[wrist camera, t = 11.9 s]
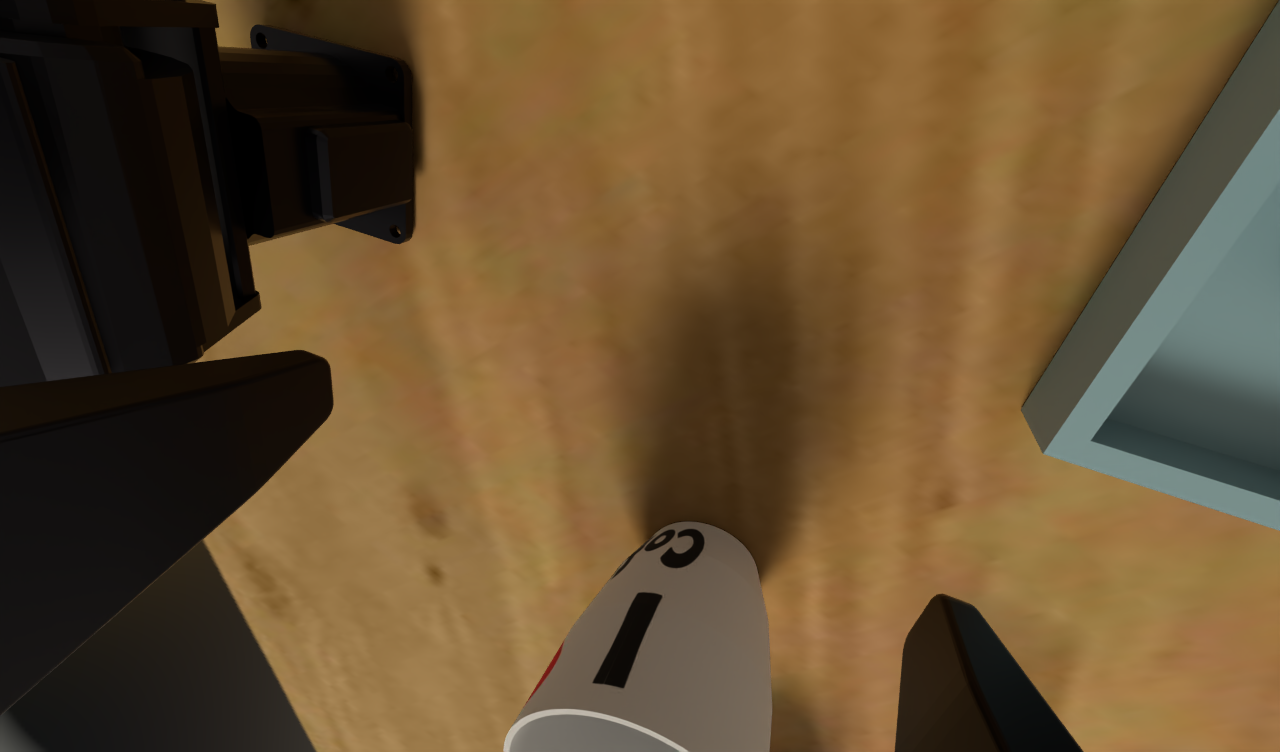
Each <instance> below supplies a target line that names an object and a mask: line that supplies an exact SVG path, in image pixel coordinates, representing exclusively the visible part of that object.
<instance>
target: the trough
mask: <svg viewBox="0 0 1280 752" xmlns="http://www.w3.org/2000/svg"><path fill="white" fill-rule="evenodd" d="M1021 411H1022V413H1023V415H1024V417H1025V419H1026V421H1027V423H1028V425H1029V427H1030V429H1031V431H1032V433H1033V435H1034V437H1035V439H1036V441H1037V443H1038V445H1039V447H1040V449H1041V451H1042V453H1043V454H1045V455H1048V456H1051V457H1054V458H1057V459H1061V460H1064V461H1067V462H1070V463H1073V464H1076V465H1079V466H1082V467H1085V468H1088V469H1091V470H1094V471H1098V472H1101V473H1104V474H1107V475H1110V476H1113V477H1116V478H1119V479H1122V480H1125V481H1128V482H1131V483H1135V484H1138V485H1141V486H1144V487H1147V488H1150V489H1153V490H1156V491H1159V492H1162V493H1165V494H1168V495H1171V496H1175V497H1178V498H1181V499H1184V500H1187V501H1190V502H1193V503H1196V504H1199V505H1202V506H1205V507H1208V508H1212V509H1215V510H1218V511H1221V512H1224V513H1227V514H1230V515H1233V516H1236V517H1239V518H1242V519H1245V520H1249V521H1252V522H1255V523H1258V524H1261V525H1264V526H1267V527H1270V528H1273V529H1276V530H1279V531H1280V0H1279V1H1278V3H1277V5H1276V6H1275V8H1274V9H1273V11H1272V13H1271V14H1270V16H1269V17H1268V19H1267V20H1266V22H1265V24H1264V25H1263V27H1262V28H1261V30H1260V32H1259V33H1258V35H1257V36H1256V38H1255V39H1254V41H1253V43H1252V44H1251V46H1250V47H1249V49H1248V51H1247V52H1246V54H1245V55H1244V57H1243V58H1242V60H1241V62H1240V63H1239V65H1238V66H1237V68H1236V70H1235V71H1234V73H1233V74H1232V76H1231V77H1230V79H1229V81H1228V82H1227V84H1226V85H1225V87H1224V89H1223V90H1222V92H1221V93H1220V95H1219V97H1218V98H1217V100H1216V101H1215V103H1214V104H1213V106H1212V108H1211V109H1210V111H1209V112H1208V114H1207V116H1206V117H1205V119H1204V120H1203V122H1202V123H1201V125H1200V127H1199V128H1198V130H1197V131H1196V133H1195V135H1194V136H1193V138H1192V139H1191V141H1190V142H1189V144H1188V146H1187V147H1186V149H1185V150H1184V152H1183V154H1182V155H1181V157H1180V158H1179V160H1178V161H1177V163H1176V165H1175V166H1174V168H1173V169H1172V171H1171V173H1170V174H1169V176H1168V177H1167V179H1166V180H1165V182H1164V184H1163V185H1162V187H1161V188H1160V190H1159V192H1158V193H1157V195H1156V196H1155V198H1154V199H1153V201H1152V203H1151V204H1150V206H1149V207H1148V209H1147V211H1146V212H1145V214H1144V215H1143V217H1142V218H1141V220H1140V222H1139V223H1138V225H1137V226H1136V228H1135V230H1134V231H1133V233H1132V234H1131V236H1130V238H1129V239H1128V241H1127V242H1126V244H1125V245H1124V247H1123V249H1122V250H1121V252H1120V253H1119V255H1118V257H1117V258H1116V260H1115V261H1114V263H1113V264H1112V266H1111V268H1110V269H1109V271H1108V272H1107V274H1106V276H1105V277H1104V279H1103V280H1102V282H1101V283H1100V285H1099V287H1098V288H1097V290H1096V291H1095V293H1094V295H1093V296H1092V298H1091V299H1090V301H1089V302H1088V304H1087V306H1086V307H1085V309H1084V310H1083V312H1082V314H1081V315H1080V317H1079V318H1078V320H1077V321H1076V323H1075V325H1074V326H1073V328H1072V329H1071V331H1070V333H1069V334H1068V336H1067V337H1066V339H1065V340H1064V342H1063V344H1062V345H1061V347H1060V348H1059V350H1058V352H1057V353H1056V355H1055V356H1054V358H1053V359H1052V361H1051V363H1050V364H1049V366H1048V367H1047V369H1046V371H1045V372H1044V374H1043V375H1042V377H1041V378H1040V380H1039V382H1038V383H1037V385H1036V386H1035V388H1034V390H1033V391H1032V393H1031V394H1030V396H1029V398H1028V399H1027V401H1026V402H1025V404H1024V405H1023V407H1022V409H1021Z"/></svg>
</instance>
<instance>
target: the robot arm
mask: <svg viewBox="0 0 1280 752" xmlns="http://www.w3.org/2000/svg"><path fill="white" fill-rule="evenodd" d="M215 28H219V23H218V16H217V10H216V4H214V3H210V2H206V1H202V0H0V716H1V715H2V714H3V713H4V712H5V711H6V710H7V709H9V708H10V707H11V706H12V705H13V704H14V703H15V702H17V701H18V700H19V699H20V698H21V697H22V696H24V695H25V694H26V693H27V692H28V691H29V690H30V689H31V688H33V687H34V686H35V685H36V684H37V683H38V682H40V681H41V680H42V679H43V678H44V677H45V676H46V675H47V674H49V673H50V672H51V671H52V670H53V669H55V668H56V667H57V666H58V665H59V664H60V663H61V662H62V661H64V660H65V659H66V658H67V657H68V656H69V655H71V654H72V653H73V652H74V651H75V650H76V649H77V648H78V647H80V646H81V645H82V644H83V643H84V642H85V641H87V640H88V639H89V638H90V637H91V636H92V635H94V633H96V632H97V631H98V630H99V629H100V628H102V627H103V626H104V625H105V624H106V623H107V622H109V621H110V620H111V619H112V618H113V617H114V616H115V615H117V614H118V613H119V612H120V611H121V610H122V609H123V608H124V607H126V606H127V605H128V604H129V603H130V602H132V601H133V599H135V598H136V597H137V596H138V595H139V594H141V593H142V592H143V591H144V590H145V589H146V588H147V587H149V586H150V585H151V584H152V583H153V582H154V581H156V580H157V579H158V578H159V577H160V576H161V575H162V574H163V573H165V572H166V571H167V570H168V569H169V568H171V567H172V566H173V565H174V564H175V563H176V562H177V561H179V560H180V559H181V558H182V557H183V556H184V555H185V554H187V553H188V552H189V551H190V550H191V549H192V548H194V547H195V546H196V545H197V544H198V543H199V542H200V541H202V540H203V539H204V538H205V537H206V536H207V535H208V534H210V533H211V532H212V531H213V530H214V529H215V528H217V527H218V526H219V525H220V524H221V523H222V522H223V521H225V520H226V519H227V518H228V517H229V516H230V515H231V514H233V513H234V512H235V511H236V510H237V509H238V508H239V507H241V506H242V505H243V504H244V503H245V502H246V501H247V500H248V499H250V498H251V497H252V496H253V495H254V494H255V493H256V492H257V491H258V490H259V489H260V488H261V487H262V486H263V485H264V484H265V483H266V482H267V481H268V480H269V479H270V478H271V477H272V476H273V475H274V474H275V473H276V472H277V471H278V470H279V469H280V468H281V467H282V466H283V465H284V464H285V463H286V462H287V461H288V459H289V458H290V457H291V456H292V455H293V454H294V453H295V452H296V451H297V450H298V449H299V448H300V447H301V446H302V445H303V444H304V443H305V442H306V441H307V440H308V439H309V438H310V436H311V435H312V434H313V433H314V432H315V431H316V430H317V429H318V428H319V427H320V426H321V425H322V424H323V423H324V422H325V421H326V420H327V418H328V417H329V415H330V414H331V412H332V409H333V390H332V379H331V369H330V365H329V363H328V361H327V360H326V359H325V358H323V357H321V356H318V355H315V354H313V353H310V352H307V351H304V350H294V351H286V352H278V353H270V354H262V355H254V356H246V357H238V358H230V359H222V360H214V361H206V362H198V363H195V362H196V361H197V360H198V359H200V358H201V357H202V356H203V354H204V352H205V351H206V350H207V349H209V348H210V347H211V346H213V345H214V344H215V343H217V342H218V341H219V340H221V339H222V338H223V337H225V336H226V335H227V334H229V333H230V332H231V331H232V330H234V329H235V328H236V327H238V326H239V325H240V324H242V323H243V322H244V321H246V320H247V319H248V318H250V317H251V316H252V315H254V314H255V313H256V312H258V311H259V310H260V309H261V302H260V295H259V292H258V291H256V290H255V285H254V278H253V272H252V265H251V259H250V252H249V246H250V245H254V244H258V243H261V242H265V241H269V240H273V239H277V238H280V237H284V236H288V235H292V234H296V233H299V232H303V231H307V230H311V229H315V228H318V227H322V226H326V225H330V224H336V225H339V226H343V227H346V228H349V229H352V230H355V231H358V232H361V233H364V234H367V235H370V236H373V237H376V238H379V239H383V240H386V241H389V242H392V243H395V244H401V243H404V242H407V241H409V240H410V239H411V238H412V234H413V148H412V76H411V71H410V69H409V66H408V65H407V64H406V63H405V61H403V60H401V59H399V58H396V57H392V56H388V55H384V54H380V53H376V52H372V51H368V50H364V49H360V48H356V47H352V46H348V45H344V44H340V43H336V42H332V41H328V40H324V39H321V38H317V37H313V36H309V35H305V34H301V33H297V32H293V31H289V30H285V29H281V28H277V27H273V26H269V25H255V26H253V27H252V29H251V32H250V38H251V46H252V48H235V47H218V45H217V38H216V32H215ZM265 39H267V43H266V40H265ZM394 68H395V69H396V71H397V73H398V79H397V81H396V80H395V78H394V75H393V71H394ZM396 226H398V228H399V229H400V232H401V234H399V233H398V231H397V228H396ZM895 752H1083V750H1082V749H1081V748H1080V746H1079V745H1078V744H1077V742H1076V741H1075V740H1074V738H1073V737H1072V736H1071V734H1070V733H1069V732H1068V730H1067V729H1066V728H1065V726H1064V725H1063V724H1062V722H1061V721H1060V720H1059V718H1058V717H1057V716H1056V714H1055V713H1054V711H1053V710H1052V709H1051V707H1050V706H1049V705H1048V703H1047V702H1046V701H1045V699H1044V698H1043V697H1042V695H1041V694H1040V693H1039V691H1038V690H1037V689H1036V687H1035V686H1034V685H1033V683H1032V682H1031V681H1030V679H1029V678H1028V677H1027V675H1026V674H1025V673H1024V671H1023V670H1022V669H1021V667H1020V666H1019V664H1018V663H1017V662H1016V660H1015V659H1014V658H1013V656H1012V655H1011V654H1010V652H1009V651H1008V650H1007V648H1006V647H1005V646H1004V644H1003V643H1002V642H1001V640H1000V639H999V638H998V636H997V635H996V634H995V632H994V631H993V630H992V628H991V627H990V626H989V624H988V623H987V622H986V620H985V619H984V618H983V616H982V615H981V613H980V612H979V611H978V610H977V609H976V608H975V607H974V606H973V605H971V604H969V603H967V602H964V601H961V600H959V599H956V598H953V597H951V596H948V595H946V594H937V595H936V596H934V597H933V598H932V599H931V600H930V602H929V603H928V605H927V606H926V608H925V609H924V611H923V612H922V614H921V615H920V617H919V618H918V620H917V621H916V623H915V624H914V626H913V627H912V629H911V630H910V632H909V633H908V635H907V638H906V640H905V644H904V648H903V656H902V669H901V681H900V693H899V705H898V718H897V730H896V742H895Z"/></svg>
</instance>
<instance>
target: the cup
mask: <svg viewBox="0 0 1280 752" xmlns="http://www.w3.org/2000/svg"><path fill="white" fill-rule="evenodd" d="M771 722H772V690H771V668H770V646H769V624H768V617H767V612H766V607H765V603H764V598H763V594H762V589H761V584H760V580H759V575H758V571H757V567H756V564H755V561H754V559H753V557H752V556H751V554H750V553H749V551H748V550H747V549H746V547H745V546H744V545H743V544H742V543H741V542H740V541H738V540H737V539H736V538H735V537H733V536H732V535H730V534H729V533H727V532H725V531H723V530H721V529H719V528H717V527H714V526H712V525H708V524H704V523H699V522H678V523H673V524H670V525H668V526H665V527H663V528H662V529H660V530H659V531H658V532H656V533H655V534H654V535H653V536H652V537H651V538H650V539H649V540H647V541H646V542H645V543H644V544H643V545H642V546H641V547H640V548H638V549H637V550H636V551H635V552H634V553H633V554H632V555H631V556H630V557H628V558H627V559H626V560H625V561H624V562H623V563H622V564H621V565H620V566H619V568H618V569H617V570H616V571H615V573H614V574H613V575H612V577H611V578H610V579H609V580H608V582H607V583H606V584H605V586H604V587H603V588H602V589H601V591H600V592H599V593H598V595H597V596H596V597H595V598H594V600H593V601H592V602H591V604H590V605H589V606H588V607H587V609H586V610H585V611H584V612H583V614H582V615H581V616H580V618H579V619H578V620H577V621H576V623H575V624H574V625H573V627H572V628H571V630H570V632H569V633H568V635H567V637H566V638H565V640H564V642H563V643H562V645H561V647H560V648H559V650H558V651H557V653H556V655H555V656H554V658H553V660H552V661H551V663H550V665H549V666H548V668H547V670H546V671H545V673H544V674H543V676H542V678H541V679H540V681H539V683H538V684H537V686H536V688H535V689H534V691H533V693H532V694H531V696H530V698H529V699H528V701H527V702H526V704H525V706H524V707H523V709H522V711H521V712H520V714H519V716H518V717H517V719H516V721H515V722H514V724H513V725H512V727H511V729H510V730H509V732H508V734H507V736H506V739H505V743H504V752H770V737H771Z"/></svg>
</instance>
